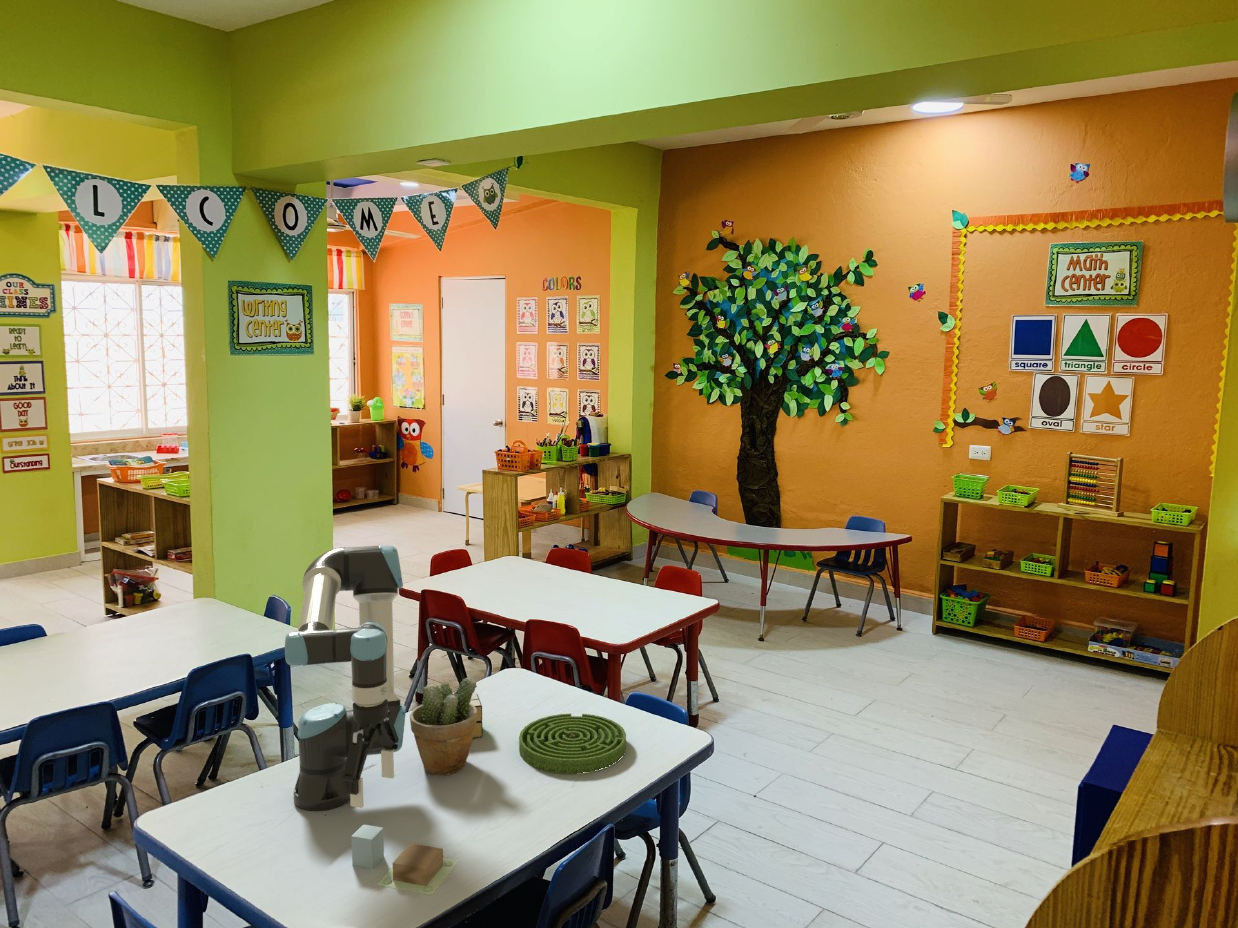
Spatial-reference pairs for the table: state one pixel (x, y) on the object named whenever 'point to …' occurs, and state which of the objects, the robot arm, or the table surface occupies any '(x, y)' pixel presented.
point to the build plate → (428, 889)
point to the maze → (572, 743)
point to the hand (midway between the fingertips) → (373, 791)
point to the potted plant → (445, 726)
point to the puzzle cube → (477, 704)
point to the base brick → (418, 864)
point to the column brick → (367, 846)
